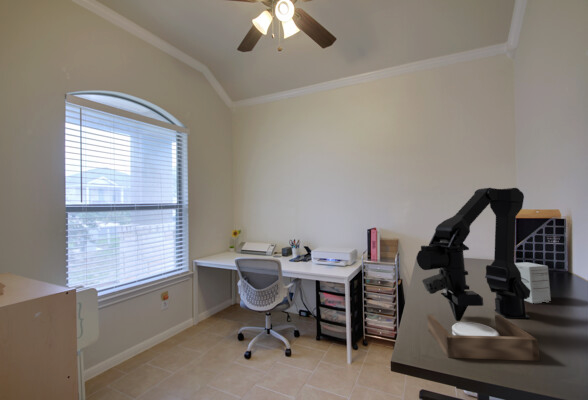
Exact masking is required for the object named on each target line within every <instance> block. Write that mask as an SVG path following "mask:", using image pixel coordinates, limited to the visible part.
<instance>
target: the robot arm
mask: <svg viewBox="0 0 588 400" xmlns="http://www.w3.org/2000/svg"><path fill="white" fill-rule="evenodd" d="M524 199H525V195H524V193H523V191H521V190H520V189H519V188H518V187H507V188H494V187H493V188H492V187H487V188H486V187H483V188H478V189H476V190H475V191H474V192H473V195H472V196H471V197H470V198H469V199H468V200H467V201H466V203H464V205H463V206H462V207H461V208H460V209H459V210H458V211H457V212H456V214H454V215H453V216H452V217H449V218H447V219H445V220H443V221H442V222H441V223H439V224H437V226H436V227H435V229H434V230H435V232H434V234H433V235H432V238H431V240H430V241H429V243H428V245H420V250H419V251H418V252H417V255H416V263H417V264H418V266H419V268H420V269H422V270H423V271H431V270H438V269H439V270H438V274H434V275H431V276H429V277H427V278H426V277H425V278H423V279H422V281H421V282H422V283H423V285H424V289H425V291H426V292H428V293H429V294H430V295H431V294H433V295H434V294H436V293H437V292H439V291H442V290H443V291H442V292H441V293H440V294H441V296H443V297H444V298H445V299H446V300H447V301H448V302H447V303H448V304H449V307H450V309H451V312H452V315H453V317H454V320H455V321H456V322H462V319H463V316H464V315H465V312H466V311H467V308H468V307H478V306H479V307H482V306H484V298H483V296H481V295H480V294H479V293H477V292H475V291H474V290H470V285H468V284H467V280H466V278H467V277H466V276H468V275H469V271H468V270H466V267H465V258H464V257H465V255H464V252H465V251H469V250H470V248H469V246H467V245H466V244H464V242H465V241H466V239H467V238H468V236H469V234H470V233H471V225H472V224H473V222H475V221H476V219H477V218H478V217H479V216H480V215H481V214H482V213H483V211H484V210H485V209H486V208H487V207H488V206H489V208H490V209H491V211H492V212H493V214H494V215H495V227H494V229H495V230H494V255H493V257H494V260H493V261H492V263H491V264H487V265H486V266H485V270H486V271H485V277H484V278H485V279H486V283H487V285H488V287H489V290H490V292H491V293H495V298H494V304H495V305H494V306H495V309H494V311H495V312H496V313H498V314H499V315H500V316H501V317H503V318H505V319H530V316H529V315H528V314H526V303H525V302H526V301H524V299H527V298H529V297H530V289H529V288H528V287H527V286H526V285H525V284H524V283H523V282H522V281H521V273H520V271H519V270H518V268H517V266H516V265H515V263H516V262H515V257H516V256H515V253H516V252H515V248H516V218H517V216H518V214H519V213H520V212H521V211H522V209H523V205H524Z"/></svg>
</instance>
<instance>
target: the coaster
mask: <svg viewBox="0 0 588 400" xmlns="http://www.w3.org/2000/svg"><path fill="white" fill-rule="evenodd" d="M451 330H452V331H451V333H452V334H451V335H464V336H500V335H499V333H498V332H497V331H496V328H495V329H494V328H493V327H490V326H489V325H486V324H482V323H478V322H470V321H458V322H455V323H454V324H453V325H452V326H451Z"/></svg>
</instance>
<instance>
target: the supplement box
mask: <svg viewBox="0 0 588 400" xmlns="http://www.w3.org/2000/svg"><path fill="white" fill-rule="evenodd" d="M514 263H515V265H516V266H517V268H518V270H519V271H520V273H521V281H522V282H523V283H524V284H525V285H526V286H527V287H528V288H529V289H530V297H529V298H527V299H524V301H525V302H527V303H530V304H533V303H534V304H543V303H542V302H546V303H550V302H549V301H552V299H551V288H550V275H549V266H548V265H545V264H538V263H534V262H530V261H529V262H528V261H527V262H526V261H525V262H514Z"/></svg>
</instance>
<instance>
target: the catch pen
mask: <svg viewBox="0 0 588 400" xmlns="http://www.w3.org/2000/svg"><path fill="white" fill-rule="evenodd" d="M426 315H427V317H426V318H427V326H428V327H427V329H428V332H429V333H430V335H431V336H432V337H433V339H434V340H435V342H436V343H437V344H438V345H439V347H440V348H441V350H442V351H443V352H444V354H445V355H446V356H447V357H448V358H449V359H450V358H452V359H454V358H455V359H475V360H476V359H477V360H478V359H479V360H480V359H481V360H482V359H483V360H507V361H508V360H510V361H512V360H513V361H532V362H533V361H535V362H536V361H539V362H540V360H541V359H540V351H539V340H538V339H537V338H535V337H534V336H532V335H531V334H530V333H528V332H526V331H525V330H523V329H522V328H520V327H518V326H517V325H515V324H514V323H512V322H511V321H509V320H508V319H507V318H505V317H504V316H502V315H500V314H499V315H497V314H496V315H494V320H495V321H494V323H495V330H496V331H497V332H498V333H499V336H464V335H453V334H450V333H449V332H448V331H447V330H446V328H445V327H444V326H443V325H442V324H441V323H440V322H439V321H438V320H437V319H436V317H435V316H434V315H433V314H426Z"/></svg>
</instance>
